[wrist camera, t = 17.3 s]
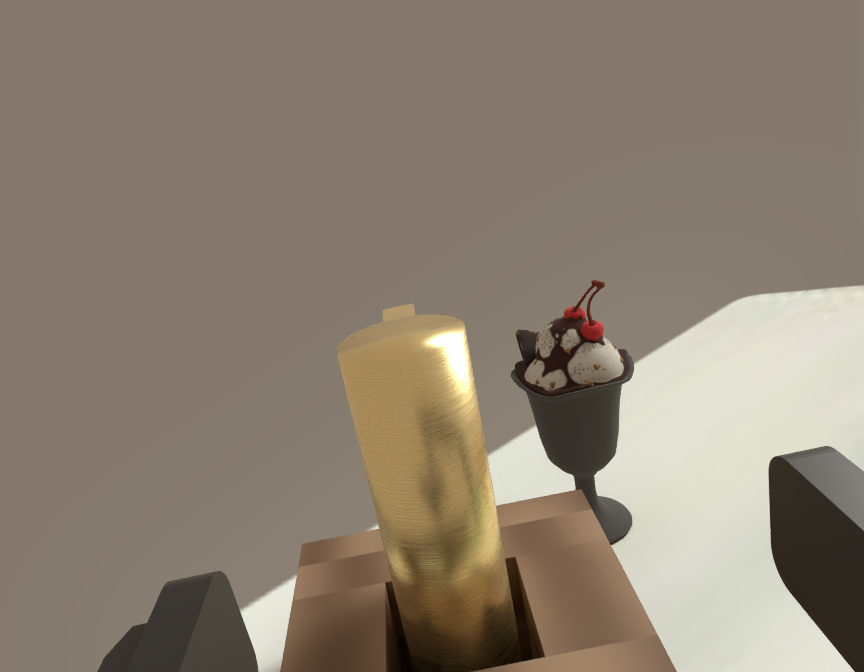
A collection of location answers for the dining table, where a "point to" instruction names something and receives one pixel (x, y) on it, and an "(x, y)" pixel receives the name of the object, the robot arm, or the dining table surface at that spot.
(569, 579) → the walnut socket block
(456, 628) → the brass peg
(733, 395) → the dining table surface
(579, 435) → the sundae
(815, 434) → the dining table surface
